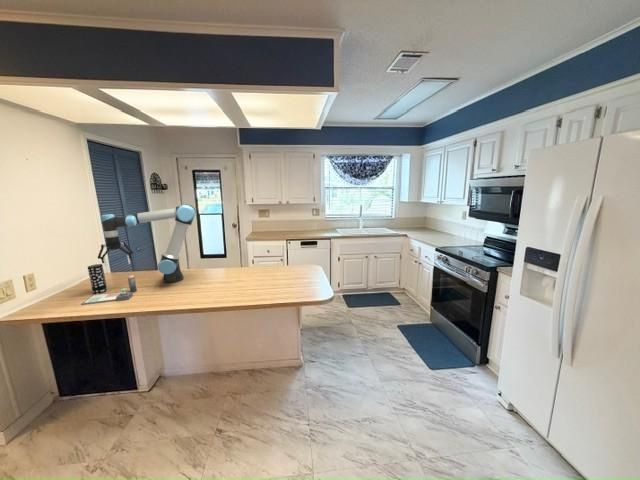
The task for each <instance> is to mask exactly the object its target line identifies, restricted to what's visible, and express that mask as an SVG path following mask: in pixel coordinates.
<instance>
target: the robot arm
mask: <svg viewBox="0 0 640 480" xmlns="http://www.w3.org/2000/svg"><path fill="white" fill-rule="evenodd" d="M196 212H197V211H196V208H195V207H194V206H193V205H191V204H188V203H186V204H183V205H179V206H178V205H177V206H175V207H174V208H168V209H167V208H166V209H160V210H151V211H145V212H138V213H129V214H127V215H122V216H115V214H113V213H108V214H102V215H101V216H100V220H101V221H100V222H101V225H102V229H103V233H104V238H105V242H106V244H104V243H103V244H100V250H99V253H98V255H97V259H99V260H101V263H102V264H104V268H105V269H107V268H108V264H107V261H106V260H107V259H106V258H105V257H106V255H107V254H108V253H109V252H110V250H111V251H114V250H118V249H119V250H120V251H122V252H124V253H125V254H127V255H126V256H127V260H128V265H131V259H132V256H131V255H132V254H134V251H133V250H132V249H131V247H130V246H128V245H127V242H126V241H120V240H121V239H120V237H119V231H118V228H125V227H129V228H131V227H135V226H136V225H138V224H144V223H149V222H156V221H157V222H158V221H164V220H170V219H171V220H172V219H174V221H175V225H174V227H173V230H172V234H171V236H170V239H169V243H168V245H167V247H166V250H165V252H162V254H161V258H160V262H158V265H157V268H158V271H159V272H160V273H161V274H163V276H162V283H164V284H172V283H177V282H180V281H183V280H184V279H185V277H184V276H185V275H184V274H183V272H182V270H181V265H180V256H179V255H180V252H181V249H182V245H183V243H184V240H185V237H186V234H187V232H188V229H189V227H190V226H192V224H193V221H194V218H195V216H196ZM121 245H122V246H124V247H125V248H123V247H122V246H121ZM106 247H107V249H106V251H104V248H106ZM126 249H127V250H126ZM103 251H104V253H103ZM102 254H103V255H102ZM183 278H184V279H183ZM182 279H183V280H182Z"/></svg>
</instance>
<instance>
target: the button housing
mask: <svg viewBox="0 0 640 480" xmlns="http://www.w3.org/2000/svg"><path fill="white" fill-rule="evenodd" d="M126 294H127V295H122V293H120V294H119V295H118V296H117V297H116V299H117V301H116V302H121V301H129V300H131V299H132V298H133V296H134V294H133V293H132V292H130V291H126Z"/></svg>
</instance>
